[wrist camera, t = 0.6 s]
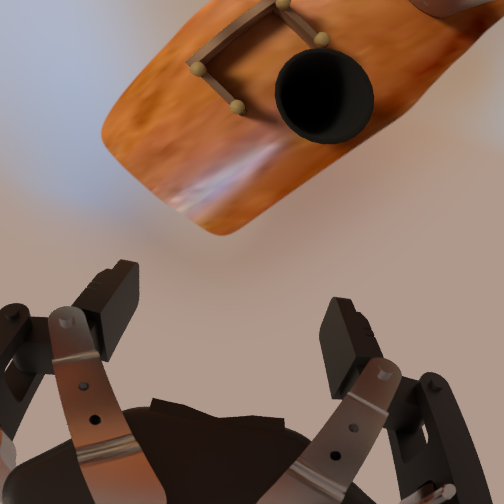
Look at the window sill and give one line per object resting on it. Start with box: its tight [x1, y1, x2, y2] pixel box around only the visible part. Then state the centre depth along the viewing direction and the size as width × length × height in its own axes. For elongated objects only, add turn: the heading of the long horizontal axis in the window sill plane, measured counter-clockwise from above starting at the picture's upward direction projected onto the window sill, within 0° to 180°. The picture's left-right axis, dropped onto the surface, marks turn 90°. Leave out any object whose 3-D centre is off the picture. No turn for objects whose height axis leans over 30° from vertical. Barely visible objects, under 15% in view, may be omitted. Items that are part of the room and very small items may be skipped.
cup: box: [275, 48, 374, 144], centre depth 25 cm, size 8×8×12 cm
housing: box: [185, 0, 330, 116], centre depth 27 cm, size 13×8×4 cm, turn 133°
